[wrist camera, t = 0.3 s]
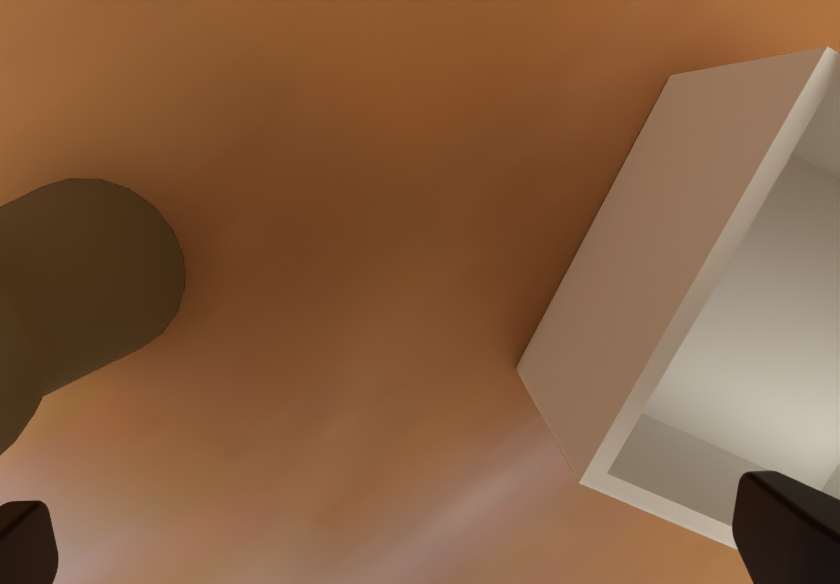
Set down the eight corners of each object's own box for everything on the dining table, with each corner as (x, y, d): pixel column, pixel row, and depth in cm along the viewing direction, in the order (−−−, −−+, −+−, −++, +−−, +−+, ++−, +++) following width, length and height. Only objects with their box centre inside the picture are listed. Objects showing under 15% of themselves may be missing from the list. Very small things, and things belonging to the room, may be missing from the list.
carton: (815, 501, 26) (999, 660, 18) (515, 368, 24) (578, 483, 16) (983, 242, 24) (1273, 297, 16) (670, 75, 22) (827, 46, 14)
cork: (124, 145, 22) (-127, 162, 11) (218, 310, 23) (78, 468, 12) (-41, 228, 22) (-441, 322, 11) (62, 385, 23) (-206, 602, 13)
